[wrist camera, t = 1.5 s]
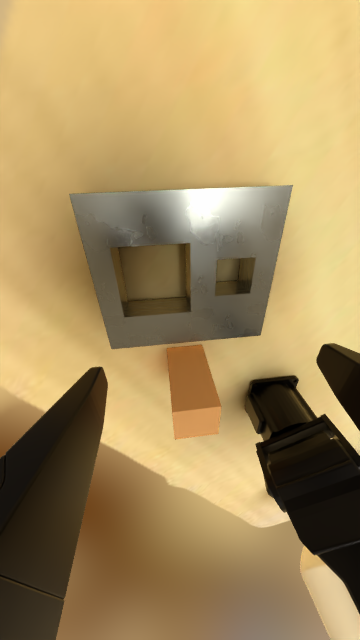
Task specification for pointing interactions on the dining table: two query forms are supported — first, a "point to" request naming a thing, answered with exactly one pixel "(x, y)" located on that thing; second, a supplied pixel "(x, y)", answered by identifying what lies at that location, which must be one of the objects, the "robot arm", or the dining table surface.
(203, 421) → the peg
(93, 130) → the dining table surface
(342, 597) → the champagne flute
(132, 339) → the socket plate
